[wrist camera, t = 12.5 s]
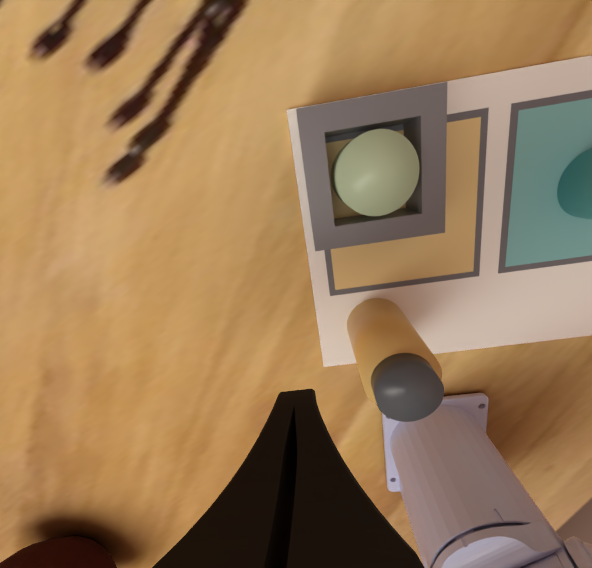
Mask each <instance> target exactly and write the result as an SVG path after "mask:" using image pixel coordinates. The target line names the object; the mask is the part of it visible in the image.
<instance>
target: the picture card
mask: <svg viewBox="0 0 592 568" xmlns="http://www.w3.org/2000/svg"><path fill="white" fill-rule="evenodd" d="M445 82H447V141H446V208H445V233H439V234H432V235H425V236H419V237H412V238H405V239H398V240H391V241H384V242H377V243H370V244H363V245H356V246H350V247H343V248H336V249H329V250H322V251H315V246H314V240H313V233H312V226H311V218H310V211H309V203H308V196H307V189H306V181H305V174H304V166H303V159H302V152H301V144H300V137H299V130H298V122H297V113H296V109H297V108H294V109H289V110H287V116H288V123H289V129H290V136H291V143H292V150H293V157H294V164H295V171H296V178H297V185H298V192H299V199H300V205H301V212H302V219H303V226H304V233H305V240H306V247H307V254H308V261H309V268H310V275H311V282H312V288H313V295H314V302H315V309H316V316H317V323H318V330H319V337H320V344H321V351H322V358H323V365H324V367H328V366H336V365H345V364H353V363H356V359H355V356H354V352H353V349H352V345H351V342H350V338H349V335H348V331H347V320H348V317H349V315H350V313H351V311H352V310H353V309H354V308H355V307H356V306H357V305H358V304H360V303H362V302H363V301H366V300H369V299H373V298H383V299H387V300H390V301H392V302H394V303H395V304H396V305H397V306H398V307H399V308H400V309H401V310H402V312H403V313H404V315H405V316H406V317H407V319H408V320H409V321H410V323H411V324H412V326H413V327H414V328H415V330H416V331H417V333H418V334H419V335H420V337H421V338H422V340H423V341H424V342H425V344H426V345H427V347H428V348H429V349H430V351H431V352H432V353H433V354H438V353H446V352H455V351H463V350H472V349H480V348H489V347H497V346H506V345H514V344H522V343H531V342H539V341H548V340H556V339H565V338H573V337H582V336H590V335H592V220H591V219H584V218H578V217H574V216H571V215H569V214H567V213H566V212H565V211H564V210H563V209H562V208H561V206H560V204H559V201H558V197H557V190H558V184H559V181H560V178H561V176H562V174H563V172H564V170H565V169H566V168H567V166H568V165H569V164H570V163H571V162H572V161H573V160H574V159H575V158H576V157H577V156H578V155H580V154H581V153H583V152H584V151H586V150H588V149H591V148H592V55H590V56H585V57H579V58H574V59H568V60H563V61H557V62H551V63H546V64H540V65H535V66H529V67H523V68H518V69H512V70H507V71H501V72H495V73H490V74H484V75H479V76H473V77H468V78H462V79H456V80H451V81H445ZM440 83H443V82H440ZM434 84H437V83H434ZM428 85H432V84H428ZM423 86H426V85H423ZM417 87H420V86H417ZM412 88H415V87H412ZM406 89H409V88H406ZM400 90H404V89H400ZM395 91H398V90H395ZM389 92H393V91H389ZM384 93H387V92H384ZM378 94H381V93H378ZM373 95H376V94H373ZM367 96H370V95H367ZM361 97H365V96H361ZM356 98H359V97H356ZM350 99H353V98H350ZM345 100H348V99H345ZM339 101H342V100H339ZM333 102H337V101H333ZM328 103H331V102H328ZM322 104H325V103H322ZM317 105H320V104H317ZM311 106H314V105H311ZM305 107H309V106H305ZM300 108H303V107H300ZM378 129H389V130H393V131H396V132H398V133H400V134H402V135H403V136H404V130H403V124H401V125H395V126H389V127H383V128H378ZM372 130H375V129H372ZM368 131H371V130H366V131H360V132H354V133H348V134H342V135H337V136H331V137H325V142H326V152H327V161H328V170H329V179H330V188H331V197H332V206H333V216H334V219H337V218H343V217H350V216H356V215H363V214H360V213H358V212H356V211H354V210H353V209H351V208H350V207H349V206H347V205H346V204H345V203H343V202H342V201H341V200H340V199H339V198H338V197H337V195H336V194H335V192H334V190H333V187H332V183H331V169H332V164H333V161H334V159H335V157H336V155H337V154H338V152H339V151H340V150H341V149H342V148H343V147H344V146H345V145H346V144H347V143H349V142H350V141H352V140H353V139H355V138H356V137H358V136H359V135H361V134H363V133H365V132H368ZM402 208H406V202H405V203H404V204H403V205H402V206H401V207H400V208H398V209H402Z"/></svg>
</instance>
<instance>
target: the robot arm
mask: <svg viewBox="0 0 592 568" xmlns="http://www.w3.org/2000/svg"><path fill="white" fill-rule="evenodd" d="M488 403H489V399H488V397H487V396H486V395H485V394H484V393H473V394H463V395H454V396H445V397H443V400H442V402H441V404H440V406H439V407H438V408H437V409H436V410H435V411H434V412H433V413H432V414H430V415H429V416H427V417H425V418H423V419H420V420H417V421H411V422H401V421H396V420H393V419H390V418H389V417H387V416H385V415H384V414H383V413H382V424H383V438H384V452H385V466H386V480H387V487H388V490H389V491H392V492H395V491H401V494H402V498H403V501H404V504H405V507H406V510H407V514H408V517H409V520H410V523H411V527H412V530H413V533H414V536H415V540H416V543H417V546H418V549H419V553H420V556H421V559H422V562H423V564H422V563H421V561H420V559H419V557H418V556H417V554H416V553H415V551H414V550H413V549H412V548H411V547H410V546H409V545H408V544H407V543H406V542H405V541H404V539H403V538H402V537H401V536H400V535H399V534H398V533H397V532H396V530H395V529H394V528H393V527H392V526H391V525H390V523H389V522H388V521H387V520H386V519H385V517H384V516H383V515H382V514H381V513H380V511H379V510H378V509H377V508H376V506H375V505H374V504H373V502H372V501H371V500H370V498H369V497H368V496H367V494H366V493H365V492H364V490H363V489H362V488H361V486H360V485H359V483H358V482H357V481H356V479H355V478H354V476H353V475H352V473H351V472H350V470H349V468H348V467H347V465H346V464H345V462H344V460H343V459H342V457H341V455H340V454H339V452H338V450H337V448H336V446H335V445H334V443H333V441H332V439H331V437H330V435H329V433H328V431H327V428H326V426H325V424H324V422H323V420H322V417H321V415H320V412H319V409H318V406H317V402H316V396H315V391H314V390H313V389H305V390H296V391H287V392H280V394H279V395H278V397H277V400H276V402H275V405H274V407H273V409H272V411H271V413H270V416H269V418H268V420H267V422H266V424H265V426H264V428H263V429H262V431H261V433H260V435H259V437H258V439H257V441H256V442H255V444H254V446H253V447H252V449H251V451H250V452H249V454H248V456H247V457H246V459H245V461H244V462H243V464H242V465H241V467H240V468H239V470H238V471H237V473H236V474H235V475H234V477H233V478H232V480H231V481H230V482H229V484H228V485H227V486H226V488H225V489H224V490H223V492H222V493H221V494H220V495H219V497H218V498H217V499H216V501H215V502H214V503H213V504H212V505H211V507H210V508H209V509H208V510H207V511H206V512H205V514H204V515H203V516H202V517H201V518H200V519H199V520H198V521H197V522H196V524H195V525H194V526H193V527H192V528H191V529H190V530H189V531H188V532H187V534H186V535H185V536H184V537H183V538H182V539H181V540H180V541H179V542H178V543H177V544H176V545H175V546H174V547H173V548H172V549H171V550H170V551H169V552H168V553H167V554H166V555H165V556H164V557H163V558H162V559H161V560H159V561H158V562H157V563H156V564H155V565H154V566H153V567H152V568H424V567H425V568H592V545H591V544H588V543H586V542H582V541H581V540H580V539H579V538H577V537H570V538H569V539H567V540H565V541H563V540H562V539H561V538H560V537H559V536H558V535H557V533H556V532H555V531H554V529H553V528H552V526H551V525H550V524H549V522H548V521H547V519H546V518H545V516H544V515H543V514H542V512H541V511H540V509H539V508H538V507H537V505H536V504H535V502H534V501H533V499H532V498H531V497H530V495H529V494H528V492H527V491H526V490H525V488H524V487H523V485H522V484H521V482H520V481H519V480H518V478H517V477H516V475H515V474H514V473H513V471H512V470H511V468H510V467H509V465H508V464H507V463H506V461H505V460H504V458H503V457H502V456H501V454H500V453H499V451H498V450H497V448H496V447H495V446H494V444H493V443H492V441H491V440H490V439H489V437H488V436H487V434H486V428H487V415H488ZM480 404H481V405H480ZM423 565H424V566H423Z"/></svg>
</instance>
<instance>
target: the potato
mask: <svg viewBox="0 0 592 568" xmlns="http://www.w3.org/2000/svg"><path fill="white" fill-rule="evenodd" d="M0 568H117V567H116V564H115V562H114V560H113V558H112V556H111V555H110V554H109V553H108V552H107V550H106V549H105V548H104V547H102V546H101V545H99V544H98V543H96V542H95V541H93V540H91V539H87V538H83V537H79V536H70V537H60V538H52V539H48V540H45V541H42V542H38V543H35V544H32V545H30V546H28V547H26V548H23V549H21V550H20V551H18V552H16V553H15V554H13V555H12V556H10V557H9V558H7V559H6V560H4V561H2V562H1V563H0Z"/></svg>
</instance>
